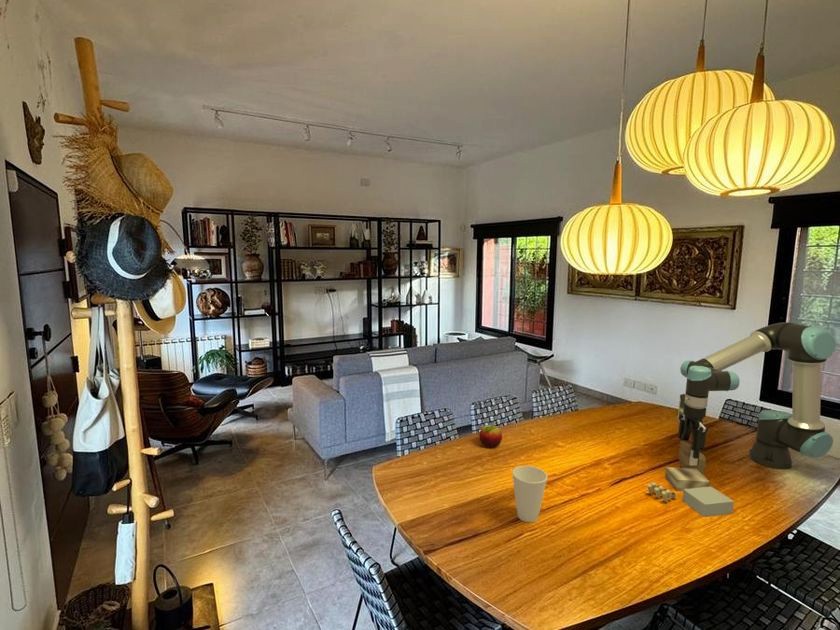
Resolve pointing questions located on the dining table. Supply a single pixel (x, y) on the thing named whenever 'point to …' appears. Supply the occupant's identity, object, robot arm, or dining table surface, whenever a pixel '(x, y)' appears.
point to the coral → (699, 467)
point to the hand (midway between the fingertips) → (688, 461)
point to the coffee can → (681, 406)
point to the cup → (528, 491)
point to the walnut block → (686, 452)
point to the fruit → (490, 436)
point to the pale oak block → (685, 478)
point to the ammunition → (661, 492)
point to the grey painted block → (707, 501)
